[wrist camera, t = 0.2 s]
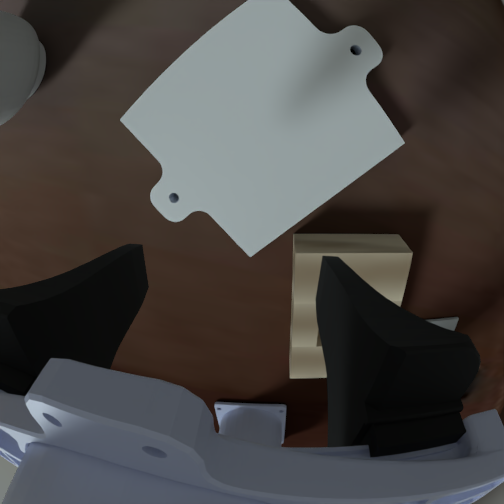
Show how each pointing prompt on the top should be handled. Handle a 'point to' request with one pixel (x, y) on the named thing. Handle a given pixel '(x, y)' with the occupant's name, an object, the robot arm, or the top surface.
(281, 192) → the mounting plate
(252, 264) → the top surface
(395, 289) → the hole block
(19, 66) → the teacup
